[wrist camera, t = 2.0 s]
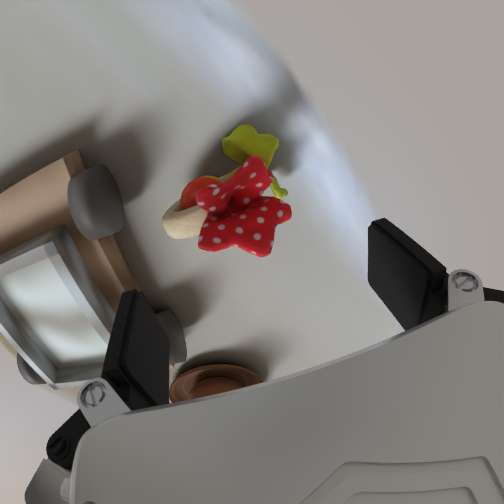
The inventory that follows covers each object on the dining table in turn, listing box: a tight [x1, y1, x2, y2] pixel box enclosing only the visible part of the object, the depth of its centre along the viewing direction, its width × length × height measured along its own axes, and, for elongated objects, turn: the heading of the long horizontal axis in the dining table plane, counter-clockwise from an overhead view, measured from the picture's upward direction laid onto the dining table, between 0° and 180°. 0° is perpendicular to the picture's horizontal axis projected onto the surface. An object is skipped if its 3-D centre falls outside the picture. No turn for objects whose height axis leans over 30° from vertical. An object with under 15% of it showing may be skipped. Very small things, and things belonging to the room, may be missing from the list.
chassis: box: [0, 149, 187, 390], centre depth 21 cm, size 22×20×6 cm
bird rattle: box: [162, 125, 292, 257], centre depth 18 cm, size 6×11×9 cm
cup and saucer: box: [169, 364, 262, 403], centre depth 32 cm, size 12×12×6 cm
